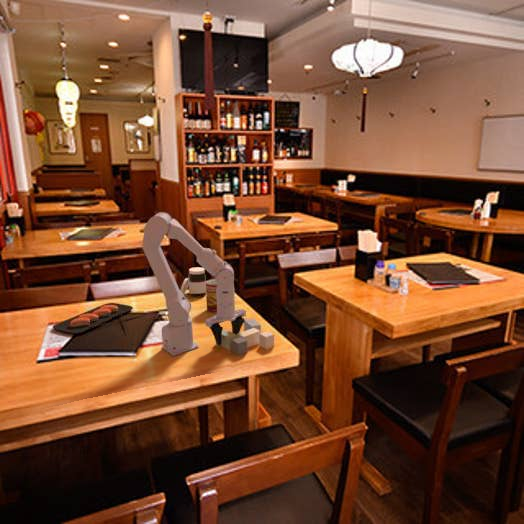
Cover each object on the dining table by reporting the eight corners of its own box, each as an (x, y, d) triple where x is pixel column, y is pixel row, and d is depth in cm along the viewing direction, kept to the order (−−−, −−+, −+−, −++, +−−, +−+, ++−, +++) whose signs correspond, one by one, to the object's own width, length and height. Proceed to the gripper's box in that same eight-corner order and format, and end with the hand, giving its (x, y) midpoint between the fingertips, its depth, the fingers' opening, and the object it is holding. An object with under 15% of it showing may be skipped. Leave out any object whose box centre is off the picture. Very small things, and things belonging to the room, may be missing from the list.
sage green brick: (237, 347, 135) (237, 335, 134) (229, 350, 133) (228, 338, 132) (225, 340, 140) (225, 328, 139) (217, 343, 138) (216, 331, 137)
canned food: (203, 310, 167) (201, 282, 164) (216, 305, 173) (215, 277, 170) (217, 314, 162) (216, 285, 159) (230, 309, 168) (229, 280, 165)
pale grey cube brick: (266, 349, 133) (266, 337, 132) (259, 346, 136) (259, 333, 134) (274, 346, 135) (274, 334, 134) (267, 343, 138) (267, 330, 136)
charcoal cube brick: (238, 356, 129) (238, 343, 128) (232, 352, 131) (231, 339, 130) (247, 353, 131) (247, 340, 130) (241, 349, 133) (240, 336, 132)
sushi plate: (110, 306, 175) (109, 297, 174) (166, 317, 162) (166, 307, 161) (49, 331, 150) (48, 322, 149) (110, 347, 137) (109, 336, 136)
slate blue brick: (260, 336, 143) (260, 324, 142) (251, 338, 141) (251, 326, 140) (252, 329, 149) (252, 317, 148) (244, 330, 148) (243, 319, 146)
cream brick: (243, 349, 134) (243, 336, 132) (237, 345, 136) (237, 333, 135) (260, 343, 138) (260, 330, 137) (254, 339, 140) (254, 327, 139)
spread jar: (207, 296, 183) (207, 271, 180) (182, 299, 180) (180, 273, 177) (204, 288, 195) (203, 264, 192) (179, 290, 192) (178, 266, 189)
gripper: (213, 311, 125) (215, 352, 128) (251, 300, 134) (252, 339, 137) (201, 304, 130) (203, 344, 134) (238, 295, 139) (239, 332, 143)
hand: (227, 341), depth 136 cm, fingers open, 6 cm apart
